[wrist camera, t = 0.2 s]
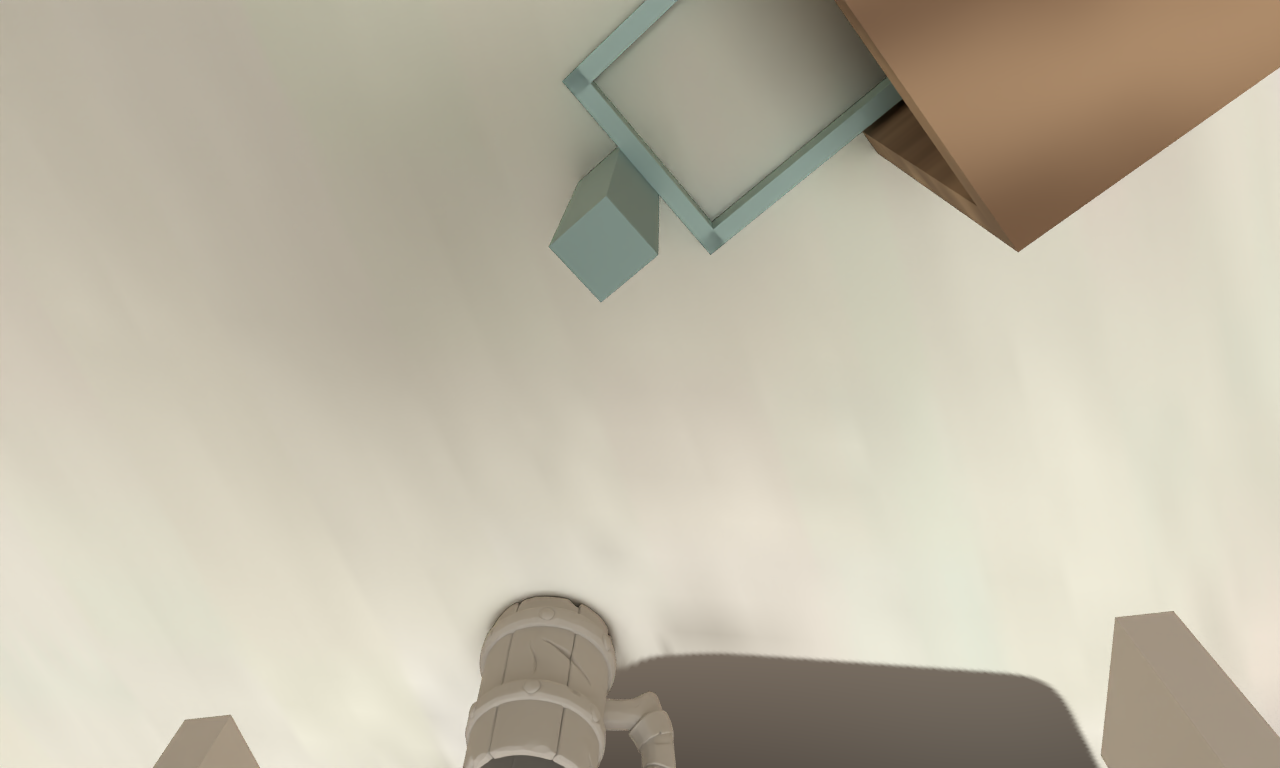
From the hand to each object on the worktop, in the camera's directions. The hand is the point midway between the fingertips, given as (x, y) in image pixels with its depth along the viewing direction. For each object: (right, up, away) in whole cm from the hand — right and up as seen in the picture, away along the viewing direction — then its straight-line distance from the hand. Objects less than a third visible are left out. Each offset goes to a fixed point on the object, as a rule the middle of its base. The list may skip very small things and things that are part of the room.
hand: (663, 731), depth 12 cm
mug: (-4, -11, +35) cm, 36 cm away
